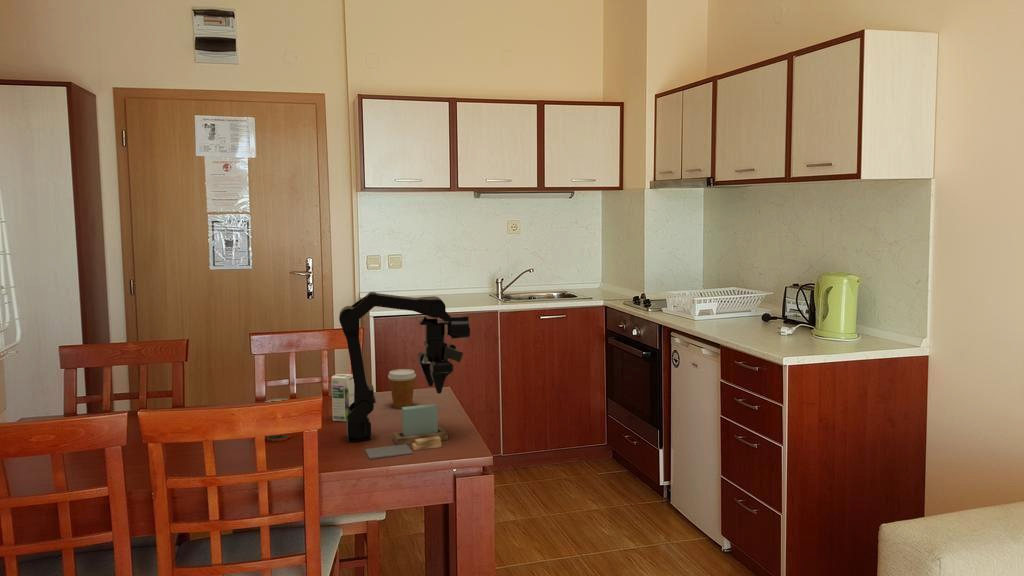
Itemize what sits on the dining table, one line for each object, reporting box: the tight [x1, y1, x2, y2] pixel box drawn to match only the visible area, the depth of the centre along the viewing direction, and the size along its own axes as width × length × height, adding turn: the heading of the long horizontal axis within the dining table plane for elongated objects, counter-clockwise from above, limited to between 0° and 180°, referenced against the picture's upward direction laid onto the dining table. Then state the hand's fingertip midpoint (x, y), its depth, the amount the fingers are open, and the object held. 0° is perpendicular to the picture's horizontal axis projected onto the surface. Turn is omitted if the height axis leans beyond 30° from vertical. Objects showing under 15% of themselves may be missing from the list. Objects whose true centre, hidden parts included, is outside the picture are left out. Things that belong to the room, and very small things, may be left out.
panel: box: [401, 403, 439, 437], centre depth 227 cm, size 10×3×10 cm, turn 110°
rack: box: [392, 426, 449, 445], centre depth 228 cm, size 15×7×2 cm, turn 110°
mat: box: [364, 444, 414, 460], centre depth 217 cm, size 12×8×1 cm, turn 110°
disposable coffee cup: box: [387, 368, 417, 409], centre depth 264 cm, size 10×10×12 cm
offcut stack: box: [411, 436, 442, 451], centre depth 221 cm, size 8×3×2 cm, turn 110°
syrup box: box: [330, 373, 354, 422], centre depth 249 cm, size 6×6×14 cm
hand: (434, 389), depth 233 cm, fingers open, 9 cm apart
